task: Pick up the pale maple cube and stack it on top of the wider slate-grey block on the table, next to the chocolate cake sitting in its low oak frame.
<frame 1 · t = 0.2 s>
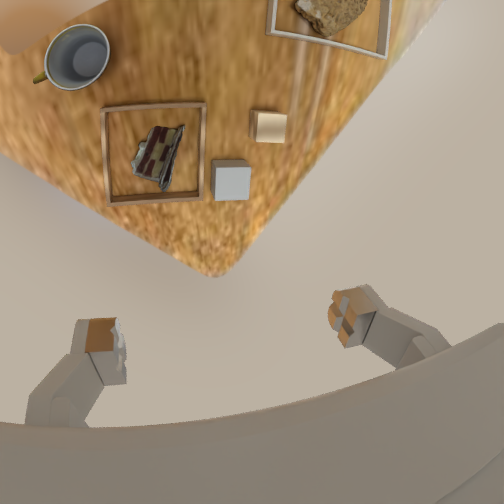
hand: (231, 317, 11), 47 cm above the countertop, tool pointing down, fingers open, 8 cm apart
slate block: (227, 175, 57), on the countertop
maple block: (262, 123, 54), on the countertop
oak cake frame: (153, 151, 51), on the countertop
chocolate cake: (156, 151, 52), on the countertop
ceramic cup: (83, 63, 39), on the countertop
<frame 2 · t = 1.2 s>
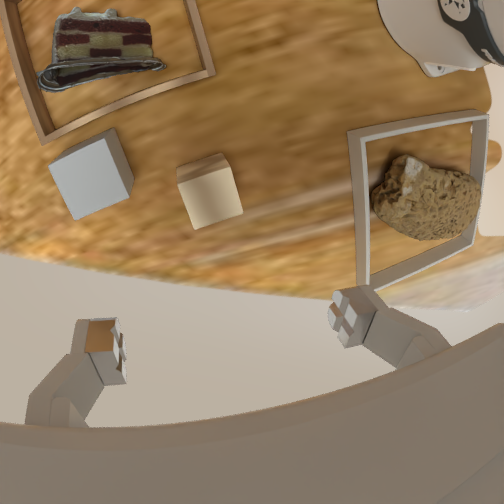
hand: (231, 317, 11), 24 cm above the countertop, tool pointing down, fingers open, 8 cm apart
slate block: (98, 164, 29), on the countertop
maple block: (205, 180, 33), on the countertop
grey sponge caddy: (422, 195, 41), on the countertop
oak cake frame: (102, 27, 21), on the countertop
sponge: (421, 190, 41), on the countertop
chocolate cake: (104, 44, 23), on the countertop
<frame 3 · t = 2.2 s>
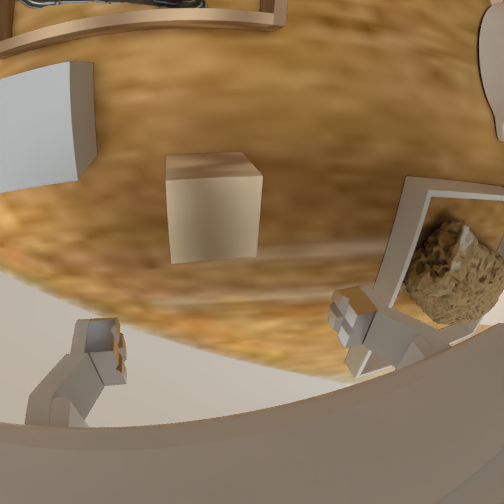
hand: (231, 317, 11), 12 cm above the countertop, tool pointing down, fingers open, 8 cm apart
slate block: (51, 116, 15), on the countertop
maple block: (204, 188, 21), on the countertop
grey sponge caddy: (447, 273, 34), on the countertop
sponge: (450, 263, 33), on the countertop
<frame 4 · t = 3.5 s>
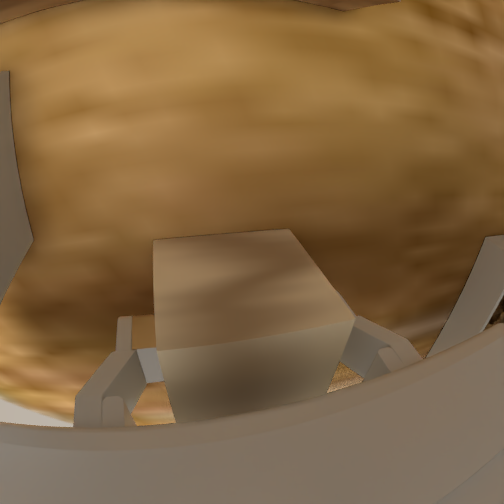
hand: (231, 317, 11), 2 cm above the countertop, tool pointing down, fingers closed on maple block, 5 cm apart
maple block: (222, 289, 13), on the countertop, touching gripper
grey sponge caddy: (493, 327, 26), on the countertop
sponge: (500, 312, 25), on the countertop
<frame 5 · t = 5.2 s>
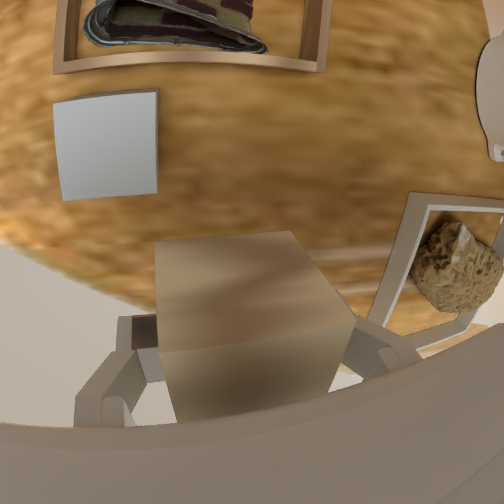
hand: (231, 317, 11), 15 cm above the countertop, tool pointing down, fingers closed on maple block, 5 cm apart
slate block: (116, 132, 20), on the countertop
maple block: (223, 290, 13), point 13 cm above the countertop, touching gripper
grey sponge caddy: (442, 275, 38), on the countertop
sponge: (450, 259, 38), on the countertop
chocolate cake: (185, 0, 16), on the countertop
when the fingers open (8 cm above the countertop, at t = 7.1 s): maple block drops 1 cm, resting on slate block.
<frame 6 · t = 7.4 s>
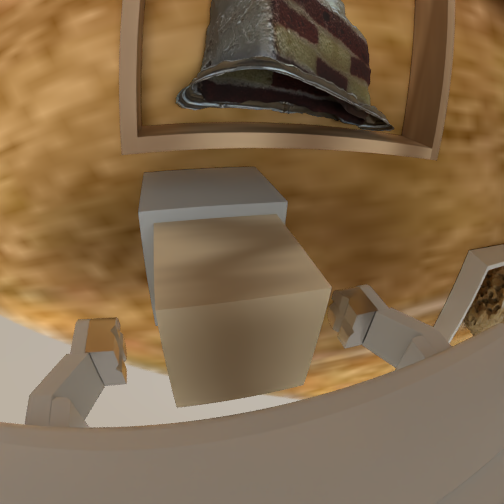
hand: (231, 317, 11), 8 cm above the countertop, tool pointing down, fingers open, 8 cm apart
slate block: (200, 219, 18), on the countertop
maple block: (216, 269, 14), point 5 cm above the countertop, touching slate block
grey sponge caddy: (480, 312, 37), on the countertop
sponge: (491, 292, 36), on the countertop
chocolate cake: (292, 50, 14), on the countertop
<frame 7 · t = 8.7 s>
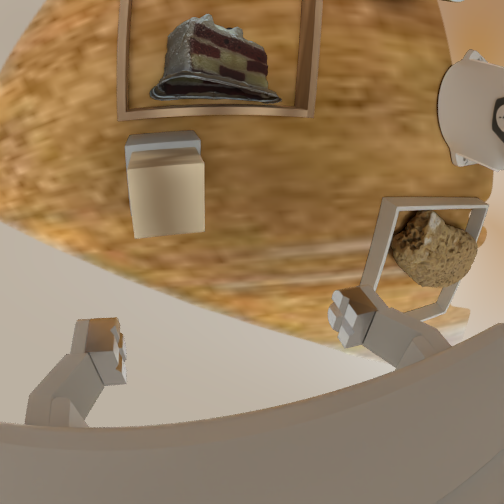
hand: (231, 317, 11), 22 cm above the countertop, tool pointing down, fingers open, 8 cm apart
slate block: (162, 162, 28), on the countertop
maple block: (164, 178, 24), point 5 cm above the countertop, touching slate block
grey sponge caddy: (418, 263, 48), on the countertop
oak cake frame: (218, 24, 23), on the countertop
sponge: (428, 242, 46), on the countertop
chocolate cake: (217, 61, 25), on the countertop
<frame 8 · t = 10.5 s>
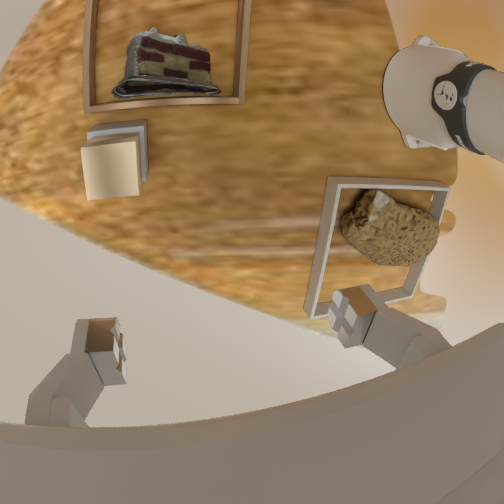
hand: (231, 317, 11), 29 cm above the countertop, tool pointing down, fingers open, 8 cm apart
slate block: (122, 146, 33), on the countertop
maple block: (117, 157, 29), point 5 cm above the countertop, touching slate block
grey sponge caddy: (376, 244, 52), on the countertop
oak cake frame: (165, 31, 27), on the countertop
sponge: (386, 221, 50), on the countertop, touching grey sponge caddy
chocolate cake: (169, 63, 30), on the countertop
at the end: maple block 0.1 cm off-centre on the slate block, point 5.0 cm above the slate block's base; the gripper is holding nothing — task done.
